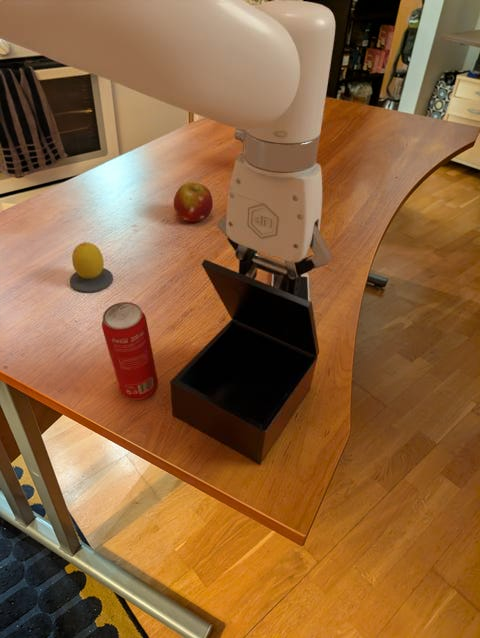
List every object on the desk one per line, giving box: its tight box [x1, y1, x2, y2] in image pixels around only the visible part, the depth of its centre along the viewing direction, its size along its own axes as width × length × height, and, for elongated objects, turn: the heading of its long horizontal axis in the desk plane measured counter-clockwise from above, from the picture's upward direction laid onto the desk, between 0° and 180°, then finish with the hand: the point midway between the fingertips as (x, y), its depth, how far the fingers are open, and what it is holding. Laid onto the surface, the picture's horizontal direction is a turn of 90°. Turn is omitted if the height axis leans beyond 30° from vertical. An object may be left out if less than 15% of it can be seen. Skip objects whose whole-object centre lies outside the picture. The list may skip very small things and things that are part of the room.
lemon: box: [71, 241, 105, 279], centre depth 86 cm, size 6×6×8 cm
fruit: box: [173, 181, 214, 223], centre depth 107 cm, size 10×9×8 cm
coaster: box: [69, 267, 114, 294], centre depth 89 cm, size 8×8×1 cm
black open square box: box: [169, 319, 318, 466], centre depth 66 cm, size 16×15×7 cm
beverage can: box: [101, 301, 158, 401], centre depth 65 cm, size 6×6×15 cm
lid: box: [201, 252, 320, 357], centre depth 62 cm, size 16×15×5 cm
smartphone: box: [270, 272, 311, 302], centre depth 88 cm, size 8×1×15 cm
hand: (267, 288), depth 59 cm, fingers closed on lid, 5 cm apart
